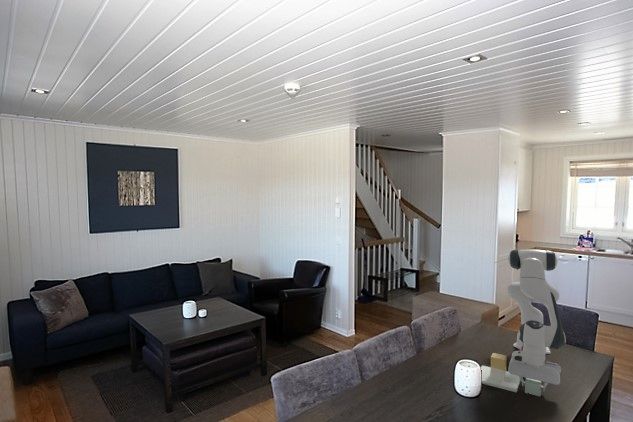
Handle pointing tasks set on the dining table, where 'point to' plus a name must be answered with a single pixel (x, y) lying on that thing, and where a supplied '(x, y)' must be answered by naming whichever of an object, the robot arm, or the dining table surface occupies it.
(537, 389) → the sage brick
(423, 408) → the dining table surface
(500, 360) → the ochre brick
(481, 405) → the dining table surface
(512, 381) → the build board
